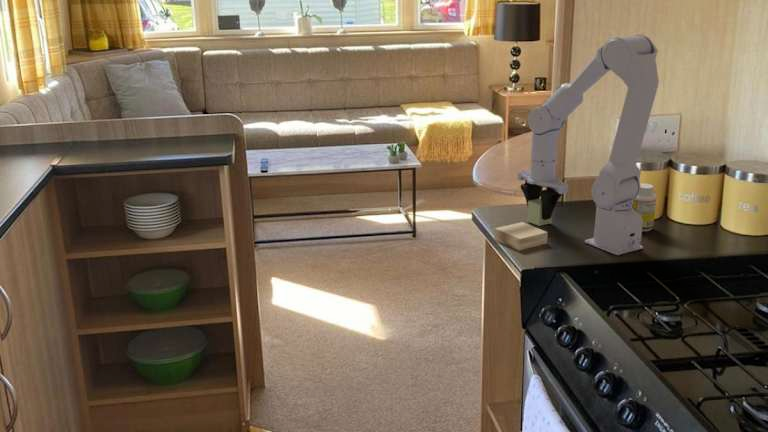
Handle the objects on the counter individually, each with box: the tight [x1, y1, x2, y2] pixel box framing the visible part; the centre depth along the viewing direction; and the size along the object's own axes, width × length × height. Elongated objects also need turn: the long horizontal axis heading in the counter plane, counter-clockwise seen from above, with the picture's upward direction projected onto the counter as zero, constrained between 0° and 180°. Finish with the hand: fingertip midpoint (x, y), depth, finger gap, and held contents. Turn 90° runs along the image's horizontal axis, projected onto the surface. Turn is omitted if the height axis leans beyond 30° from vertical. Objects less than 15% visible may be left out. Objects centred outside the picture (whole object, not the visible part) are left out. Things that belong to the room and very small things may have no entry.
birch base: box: [493, 221, 548, 251], centre depth 172 cm, size 8×8×3 cm
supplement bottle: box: [632, 182, 657, 233], centre depth 179 cm, size 6×6×10 cm
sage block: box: [526, 197, 553, 227], centre depth 183 cm, size 4×4×5 cm
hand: (539, 216), depth 184 cm, fingers closed on sage block, 4 cm apart
